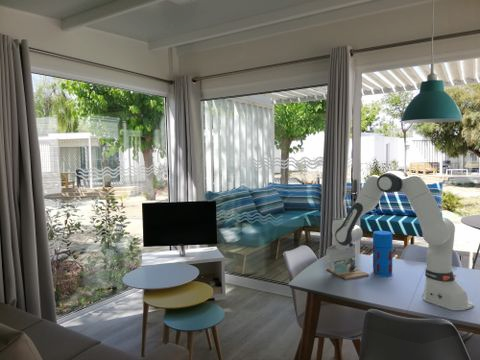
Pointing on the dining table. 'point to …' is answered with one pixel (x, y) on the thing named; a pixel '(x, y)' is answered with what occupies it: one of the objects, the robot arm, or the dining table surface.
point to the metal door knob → (352, 265)
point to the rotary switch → (340, 267)
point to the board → (349, 273)
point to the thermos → (382, 253)
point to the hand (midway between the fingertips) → (340, 267)
